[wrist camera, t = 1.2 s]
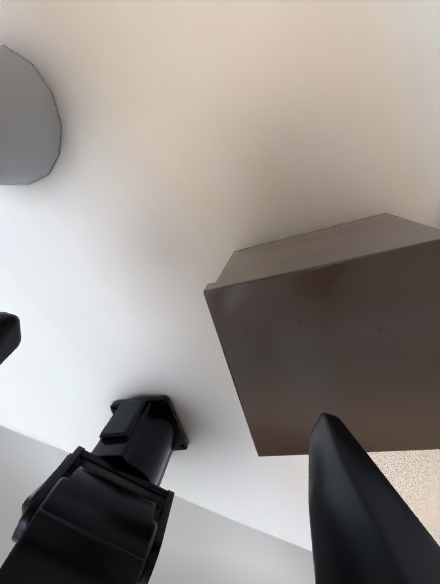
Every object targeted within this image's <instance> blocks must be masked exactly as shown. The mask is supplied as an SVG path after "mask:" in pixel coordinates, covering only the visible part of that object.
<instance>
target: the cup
mask: <svg viewBox="0 0 440 584" xmlns="http://www.w3.org/2000/svg"><path fill="white" fill-rule="evenodd" d="M60 137H61V122H60V119H59V115H58V112H57V108H56V105H55V102H54V98H53V95H52V92H51V91H50V89H49V88H48V86H47V85H46V83H45V82H44V80H43V79H42V77H41V76H40V75H39V73H38V72H37V70H36V69H35V67H34V66H33V64H31V63H30V62H28V61H27V60H25V59H24V58H22V57H21V56H19V55H18V54H16V53H15V52H13V51H12V50H10V49H9V48H7V47H5V46H3V45H1V44H0V185H23V184H31V183H33V182H35V181H37V180H39V179H41V178H43V177H45V176H47V175H48V174H49V172H50V170H51V168H52V166H53V165H54V163H55V161H56V159H57V158H58V156H59V152H60Z"/></svg>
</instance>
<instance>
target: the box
mask: <svg viewBox="0 0 440 584" xmlns="http://www.w3.org/2000/svg"><path fill="white" fill-rule="evenodd" d="M204 296H205V298H206V301H207V304H208V307H209V310H210V313H211V316H212V319H213V322H214V325H215V328H216V331H217V334H218V337H219V340H220V343H221V346H222V349H223V352H224V355H225V358H226V361H227V364H228V367H229V370H230V373H231V376H232V379H233V382H234V385H235V388H236V391H237V394H238V397H239V400H240V403H241V406H242V409H243V412H244V415H245V418H246V421H247V424H248V427H249V430H250V433H251V436H252V439H253V442H254V445H255V448H256V451H257V454H258V456H284V455H309V438H310V434H311V432H312V430H313V428H314V426H315V424H316V422H317V420H318V418H319V416H320V415H321V414H322V413H328V414H331V415H335V416H337V417H339V418H340V419H341V421H342V422H343V423H344V425H345V426H346V427H347V428H348V430H349V431H350V432H351V434H352V435H353V436H354V437H355V439H356V440H357V441H358V442H359V444H360V445H361V446H362V448H363V449H364V450H365V451H366V452H383V451H407V450H432V449H440V230H439V229H436V228H433V227H429V226H426V225H423V224H419V223H416V222H413V221H410V220H406V219H403V218H400V217H396V216H393V215H390V214H386V213H384V214H380V215H377V216H373V217H369V218H365V219H361V220H357V221H353V222H349V223H345V224H341V225H337V226H333V227H329V228H325V229H321V230H317V231H313V232H310V233H306V234H302V235H298V236H294V237H290V238H286V239H282V240H278V241H274V242H270V243H266V244H262V245H258V246H254V247H250V248H246V249H243V250H239V251H235V252H233V254H232V256H231V257H230V259H229V261H228V262H227V264H226V266H225V268H224V269H223V271H222V273H221V274H220V276H219V278H218V280H217V281H216V283H211V284H208V285H207V287H206V288H205V290H204Z"/></svg>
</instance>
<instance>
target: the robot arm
mask: <svg viewBox="0 0 440 584" xmlns="http://www.w3.org/2000/svg"><path fill="white" fill-rule="evenodd" d="M20 342H21V331H20V320H19V318H18V317H17V316H16V315H13V314H10V313H7V312H0V364H1V363H2V362H3V361H4V360H5V359H6V358H7V357H8V356H9V355H10V354H11V353H12V352H13V351H14V350H15V349H16V348H17V347H18V346H19V344H20ZM164 401H165V402H164ZM110 408H111V410H112V412H113V414H114V415H113V416H112V418H111V419H110V420H109V422H108V423H107V425H106V426H105V428H104V429H103V431H102V432H101V434H100V436H99V437H100V441H99V442H98V443H97V445H96V446H95V448H94V449H93V451H92V452H91V453H90V452H88V451H86V450H85V448H83V447H81V446H78V448H77V449H76V450H75V451H74V452H73V453H72V454H71V453H70V454H69V455H68V456H67V457H66V458H65V459H64V461H63V462H62V463H61V465H60V466H59V467H58V468H57V469H56V470H55V471H54V472H53V474H52V475H51V476H50V477H49V478H48V479H47V480H46V481H45V482H44V483H43V484H42V485H41V486H40V487H39V488H38V489H36V490H35V491H34V492H33V493H32V494H31V495H30V496H29V497H28V498H27V499H26V500H25V502H24V503H23V505H22V517H21V519H20V521H19V523H18V525H17V528H16V529H15V532H14V534H13V536H12V541H14V542H15V543H16V544H15V546H14V547H13V549H12V551H11V552H10V554H9V555H8V557H7V559H6V560H5V562H4V563H3V565H2V567H1V568H0V584H148V582H149V579H150V576H151V574H152V571H153V569H154V566H155V563H156V560H157V558H158V554H159V551H160V548H161V544H162V541H163V537H164V533H165V529H166V524H167V521H168V517H169V512H170V509H171V505H172V501H173V497H174V492H172V491H170V490H168V491H167V490H165V489H163V488H161V487H159V486H160V483H161V481H162V478H163V475H164V473H165V470H166V468H167V465H168V462H169V460H170V457H171V454H172V452H173V450H185V449H187V448H188V445H189V442H188V440H187V438H186V435H185V433H184V431H183V429H182V426H181V424H180V422H179V419H178V417H177V415H176V412H175V410H174V408H173V406H172V403H171V401H170V399H169V398H168V397H166V396H160V397H151V398H142V399H133V400H124V401H115V402H113V403H112V405H111V406H110ZM308 494H309V516H310V527H311V539H312V550H313V561H314V572H315V583H316V584H440V546H439V545H438V544H437V542H436V541H435V540H434V539H433V537H432V536H431V535H430V534H429V532H428V531H427V530H426V528H425V527H424V526H423V525H422V523H421V522H420V521H419V519H418V518H417V517H416V516H415V514H414V513H413V512H412V510H411V509H410V508H409V507H408V505H407V504H406V503H405V501H404V500H403V499H402V498H401V496H400V495H399V494H398V492H397V491H396V490H395V489H394V487H393V486H392V485H391V484H390V482H389V481H388V480H387V478H386V477H385V476H384V475H383V473H382V472H381V471H380V469H379V468H378V467H377V466H376V464H375V463H374V462H373V460H372V459H371V458H370V457H369V455H368V454H367V453H366V451H365V450H364V449H363V448H362V446H361V445H360V444H359V442H358V441H357V440H356V439H355V437H354V436H353V435H352V434H351V432H350V431H349V430H348V428H347V427H346V426H345V425H344V423H343V422H342V421H341V419H340V418H339V417H337V416H335V415H331V414H328V413H322V414H321V415H320V416H319V418H318V420H317V422H316V424H315V426H314V428H313V430H312V432H311V434H310V438H309V491H308Z"/></svg>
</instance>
